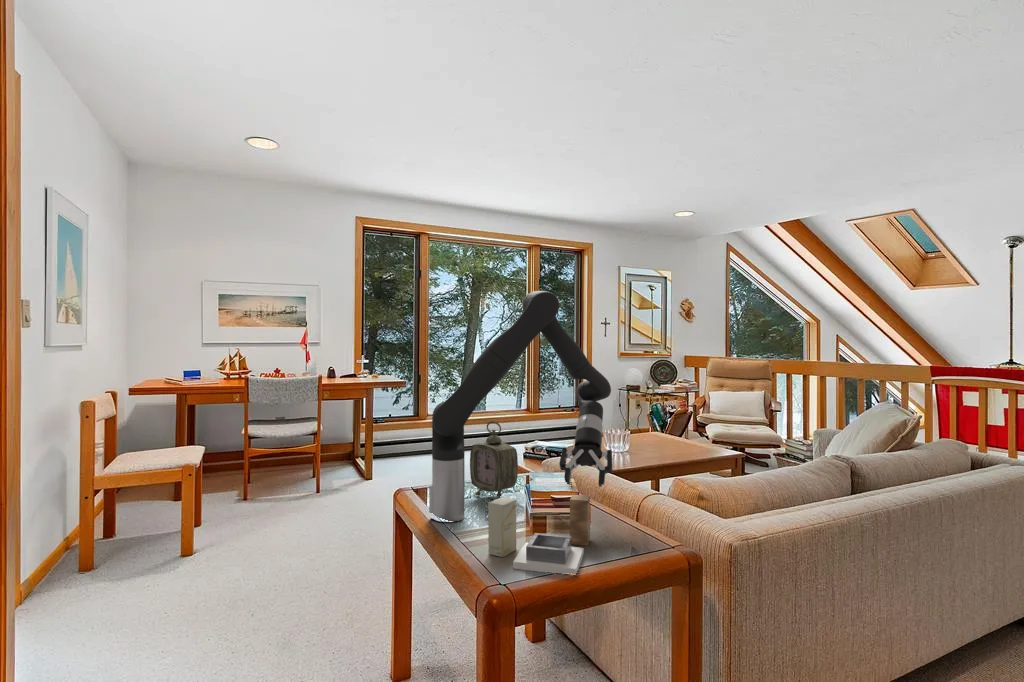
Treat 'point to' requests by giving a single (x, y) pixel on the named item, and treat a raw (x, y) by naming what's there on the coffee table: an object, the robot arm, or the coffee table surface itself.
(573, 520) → the walnut peg
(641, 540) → the coffee table surface
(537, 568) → the mount board
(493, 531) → the skincare box
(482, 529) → the coffee table surface
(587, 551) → the coffee table surface
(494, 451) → the tabletop clock
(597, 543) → the coffee table surface
